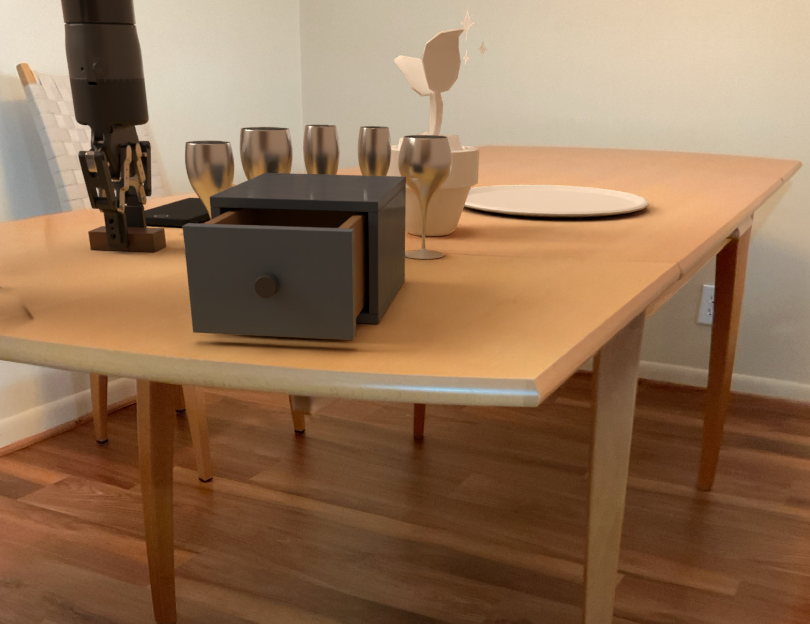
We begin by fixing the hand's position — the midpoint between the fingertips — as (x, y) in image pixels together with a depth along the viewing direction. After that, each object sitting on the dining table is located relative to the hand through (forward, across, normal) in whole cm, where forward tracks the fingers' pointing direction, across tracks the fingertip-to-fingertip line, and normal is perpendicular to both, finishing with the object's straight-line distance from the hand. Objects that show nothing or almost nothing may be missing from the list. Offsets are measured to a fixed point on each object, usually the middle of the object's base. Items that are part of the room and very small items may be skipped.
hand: (128, 243), depth 103 cm
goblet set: (+1, +3, +24) cm, 24 cm away
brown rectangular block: (+1, 0, 0) cm, 1 cm away
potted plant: (+1, -17, +32) cm, 36 cm away
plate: (+1, -43, +47) cm, 64 cm away
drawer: (0, +29, +26) cm, 39 cm away
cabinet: (+1, +19, +26) cm, 32 cm away
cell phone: (+1, -23, -1) cm, 23 cm away
